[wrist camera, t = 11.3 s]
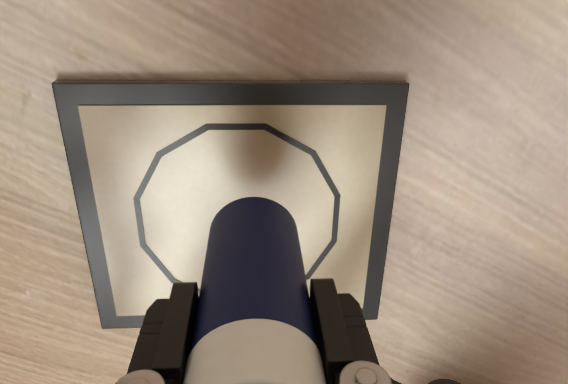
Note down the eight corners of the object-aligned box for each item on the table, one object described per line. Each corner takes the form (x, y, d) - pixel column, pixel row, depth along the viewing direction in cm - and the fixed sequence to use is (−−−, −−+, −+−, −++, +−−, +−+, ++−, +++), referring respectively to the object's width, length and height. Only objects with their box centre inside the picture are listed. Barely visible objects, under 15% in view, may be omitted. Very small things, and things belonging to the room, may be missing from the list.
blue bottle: (210, 273, 19) (181, 491, 11) (205, 195, 18) (166, 385, 10) (297, 271, 20) (330, 482, 11) (299, 194, 18) (339, 377, 10)
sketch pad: (104, 322, 26) (100, 331, 26) (56, 79, 20) (49, 83, 20) (375, 313, 27) (378, 321, 27) (405, 80, 21) (410, 83, 21)
